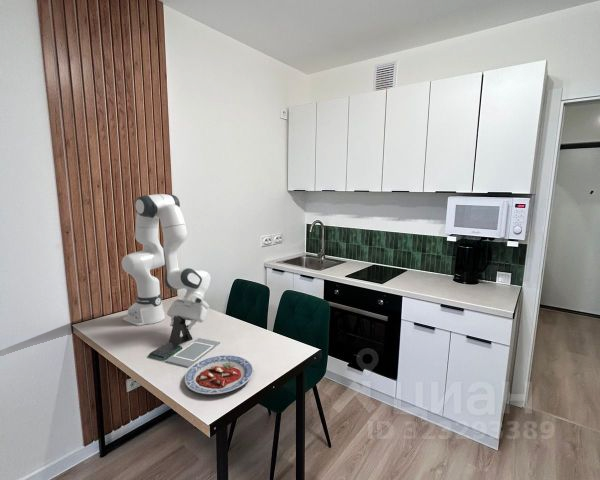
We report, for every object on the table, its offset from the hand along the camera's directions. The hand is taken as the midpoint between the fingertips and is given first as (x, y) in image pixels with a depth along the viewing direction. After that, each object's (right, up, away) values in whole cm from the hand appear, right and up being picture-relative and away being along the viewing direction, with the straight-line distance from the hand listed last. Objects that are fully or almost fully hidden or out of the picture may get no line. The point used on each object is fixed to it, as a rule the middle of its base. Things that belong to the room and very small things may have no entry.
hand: (179, 327), depth 156 cm
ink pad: (-3, -9, -10) cm, 13 cm away
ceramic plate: (+26, -12, -28) cm, 40 cm away
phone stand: (0, -7, +1) cm, 7 cm away
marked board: (+10, -8, -9) cm, 16 cm away
